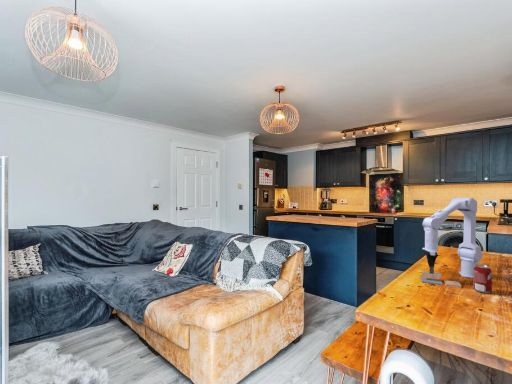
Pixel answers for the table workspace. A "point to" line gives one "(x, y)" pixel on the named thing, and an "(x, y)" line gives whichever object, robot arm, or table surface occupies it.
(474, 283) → the soda can
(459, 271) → the robot arm
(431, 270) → the grey bar
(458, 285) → the tile
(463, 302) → the table surface
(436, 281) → the mat
